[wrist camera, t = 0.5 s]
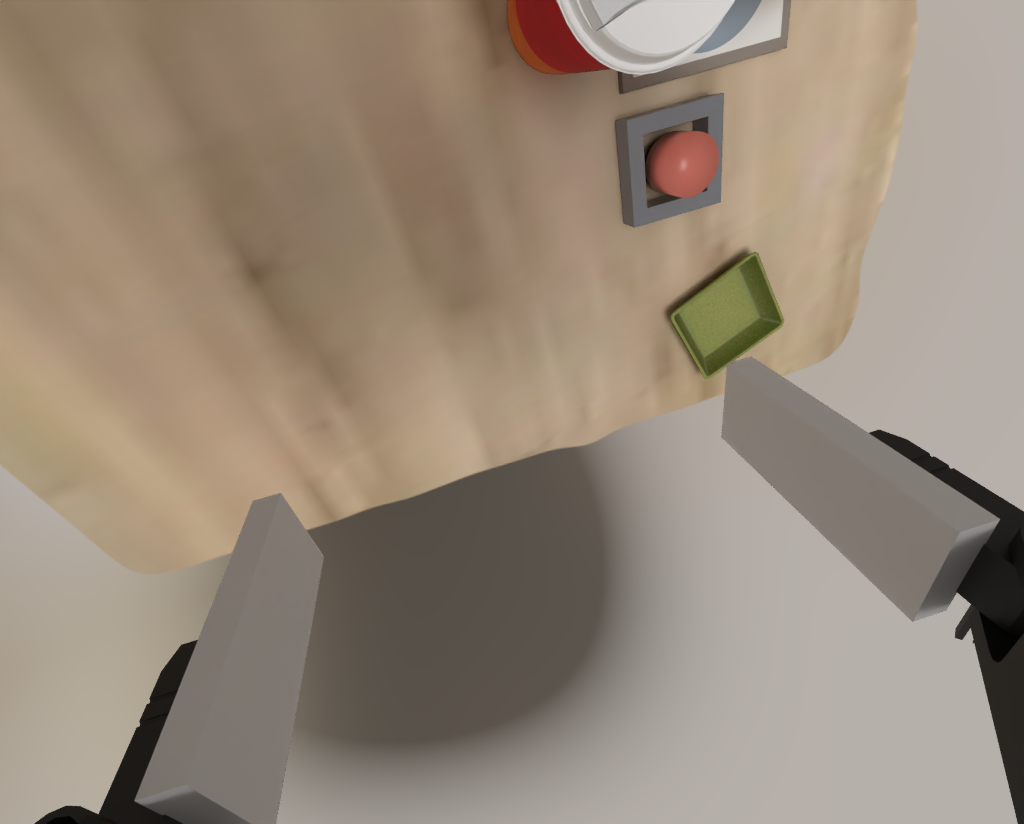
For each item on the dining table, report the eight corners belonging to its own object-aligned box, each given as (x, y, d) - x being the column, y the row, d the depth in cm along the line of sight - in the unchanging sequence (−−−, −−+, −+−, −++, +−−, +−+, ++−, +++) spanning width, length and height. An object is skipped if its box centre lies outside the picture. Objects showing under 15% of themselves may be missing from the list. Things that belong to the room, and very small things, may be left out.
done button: (643, 139, 32) (662, 140, 30) (696, 124, 32) (719, 123, 30) (647, 199, 34) (664, 204, 32) (696, 185, 34) (717, 189, 32)
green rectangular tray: (771, 316, 44) (786, 324, 42) (695, 372, 46) (706, 381, 44) (741, 244, 40) (757, 249, 38) (657, 308, 41) (669, 316, 39)
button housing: (615, 120, 32) (626, 120, 30) (707, 94, 32) (723, 92, 31) (623, 223, 36) (634, 227, 34) (705, 198, 36) (720, 202, 35)
